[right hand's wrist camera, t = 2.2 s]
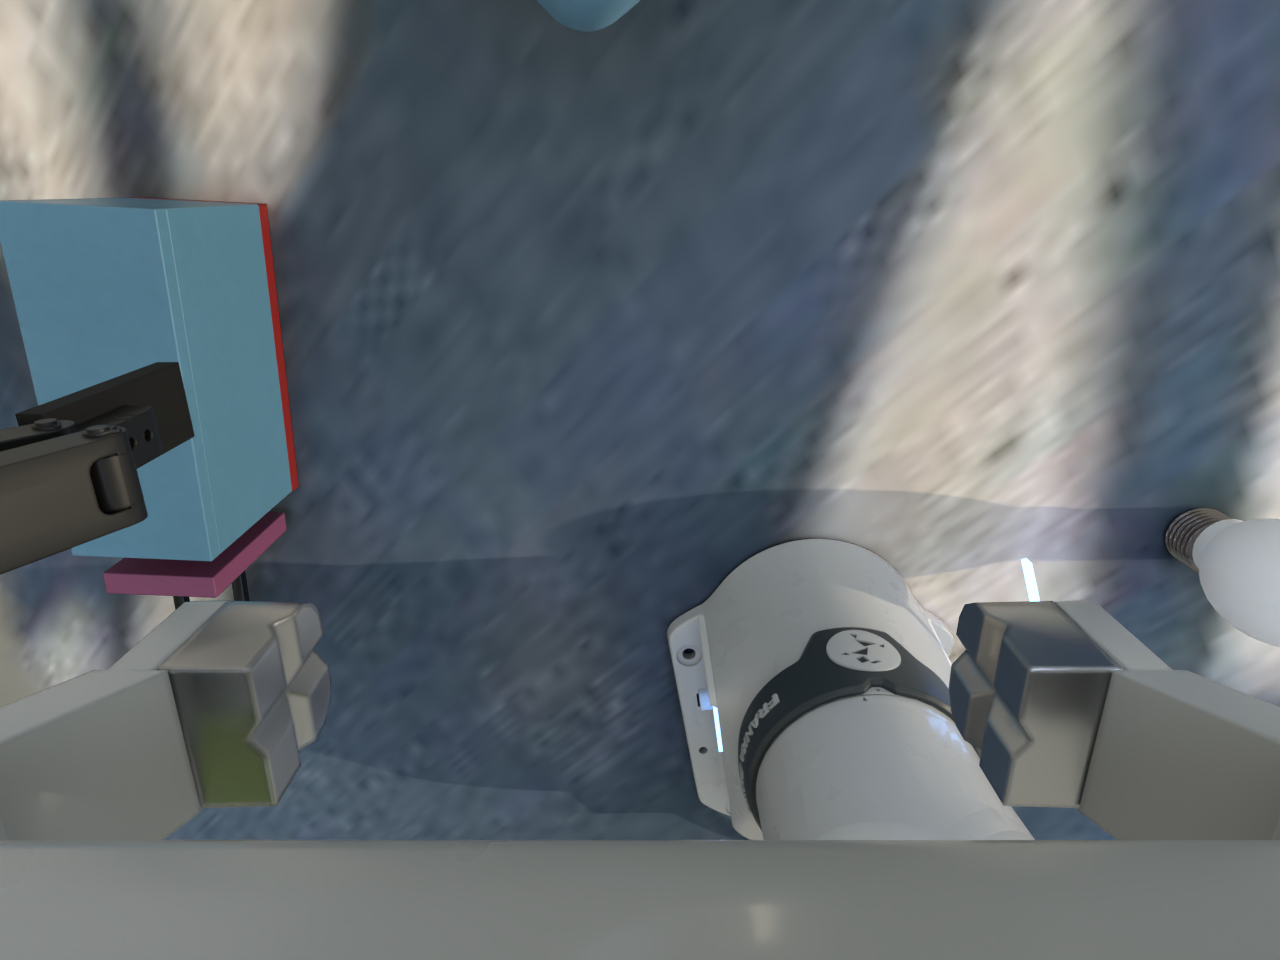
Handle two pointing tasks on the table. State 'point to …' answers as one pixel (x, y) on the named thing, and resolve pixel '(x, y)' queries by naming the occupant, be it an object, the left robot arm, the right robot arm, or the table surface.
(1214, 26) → the table surface
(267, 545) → the drawer
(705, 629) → the right robot arm
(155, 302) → the cabinet
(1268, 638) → the light bulb
